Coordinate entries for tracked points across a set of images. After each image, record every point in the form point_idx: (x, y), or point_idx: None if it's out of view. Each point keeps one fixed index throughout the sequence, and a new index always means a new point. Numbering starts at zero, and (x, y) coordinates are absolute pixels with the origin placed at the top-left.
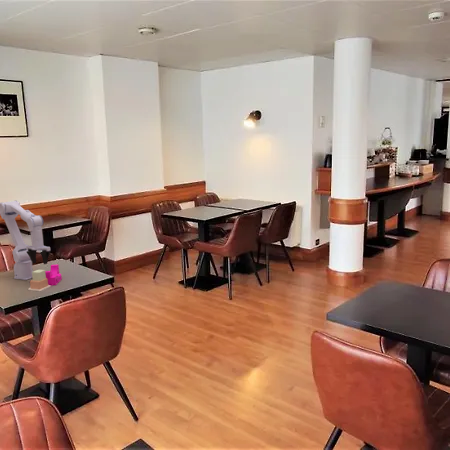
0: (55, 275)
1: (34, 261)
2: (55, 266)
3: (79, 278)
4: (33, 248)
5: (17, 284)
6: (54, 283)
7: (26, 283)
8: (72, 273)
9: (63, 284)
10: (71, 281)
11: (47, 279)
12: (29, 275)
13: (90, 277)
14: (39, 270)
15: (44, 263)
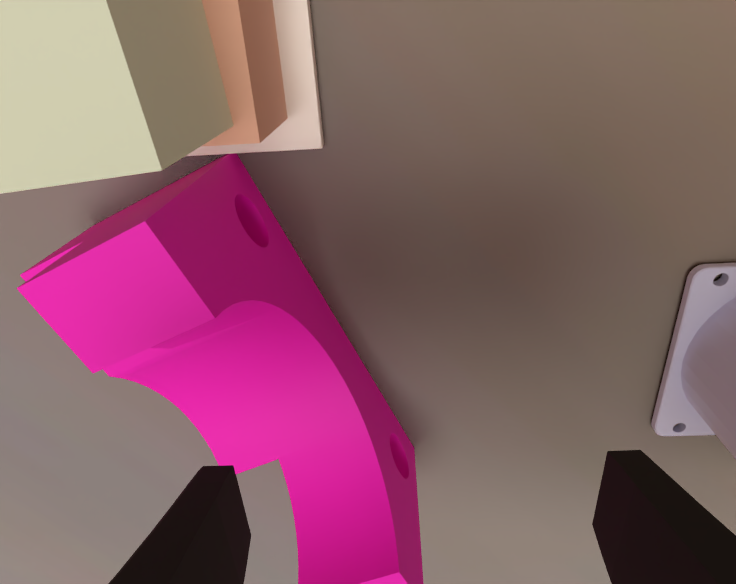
0: (126, 360)
1: (619, 526)
2: (324, 575)
3: (90, 491)
4: None
5: (716, 39)
6: (90, 229)
7: (588, 140)
8: None
9: None
10: (67, 399)
11: None
12: (712, 354)
13: (23, 537)
14: (23, 117)
15: (190, 482)
